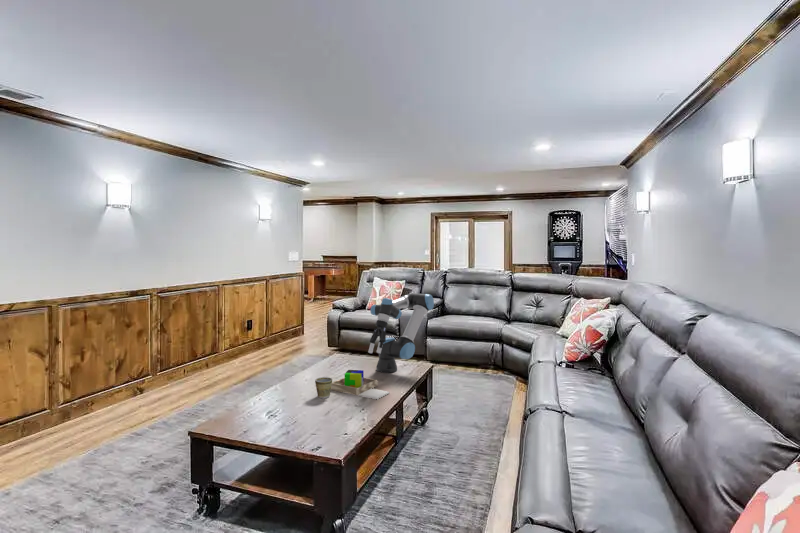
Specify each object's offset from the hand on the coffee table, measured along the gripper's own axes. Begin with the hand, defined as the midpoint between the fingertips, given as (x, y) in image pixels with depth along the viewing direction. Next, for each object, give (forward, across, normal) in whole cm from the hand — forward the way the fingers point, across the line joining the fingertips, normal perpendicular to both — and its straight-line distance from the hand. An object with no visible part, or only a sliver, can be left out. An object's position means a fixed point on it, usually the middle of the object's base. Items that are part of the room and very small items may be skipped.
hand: (374, 353), depth 278 cm
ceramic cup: (+33, +3, -25) cm, 41 cm away
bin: (+24, -3, -6) cm, 25 cm away
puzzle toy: (+24, -3, -6) cm, 25 cm away
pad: (+25, +14, +1) cm, 29 cm away
